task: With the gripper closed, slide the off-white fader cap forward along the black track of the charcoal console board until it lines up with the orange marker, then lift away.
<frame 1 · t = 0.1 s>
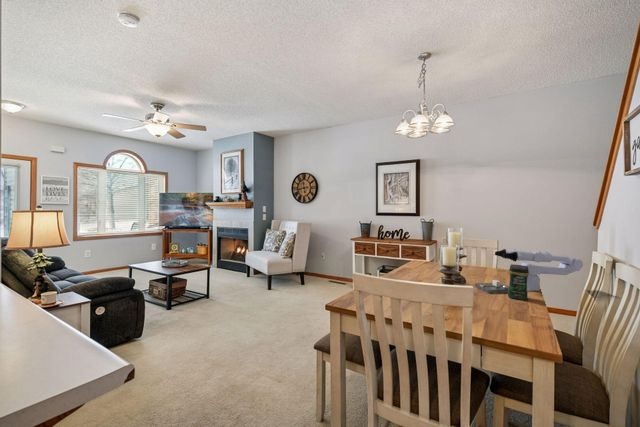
hand: (499, 254, 201), 22 cm above the table, tool horizontal, fingers open, 7 cm apart
coffee jar: (517, 298, 188), on the table
fader cap: (496, 283, 203), point 4 cm above the table, slide at 2.0 cm
console: (493, 289, 203), on the table
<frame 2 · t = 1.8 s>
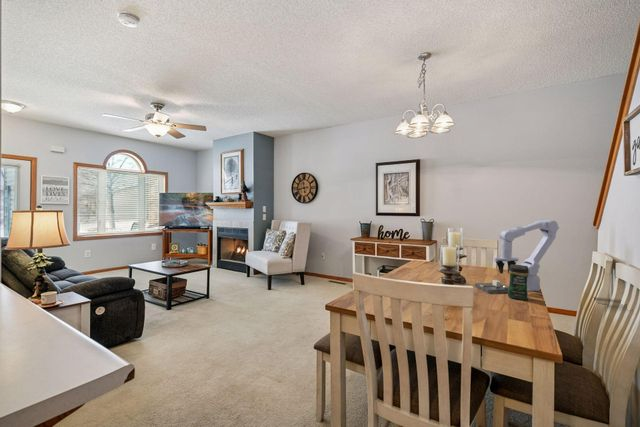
hand: (505, 273, 203), 10 cm above the table, tool pointing down, fingers open, 5 cm apart
nothing on the table moved.
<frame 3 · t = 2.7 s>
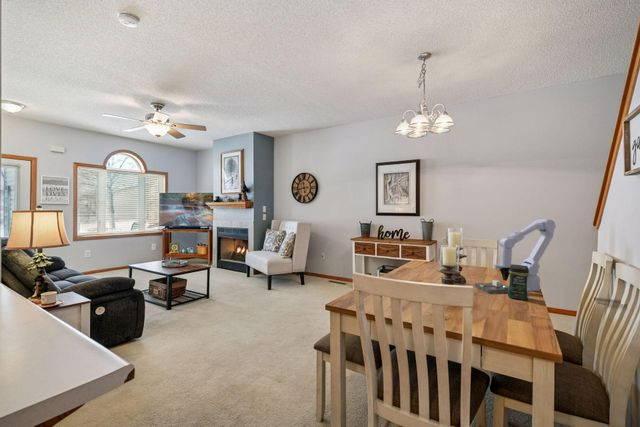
hand: (504, 280, 204), 6 cm above the table, tool pointing down, fingers closed
nothing on the table moved.
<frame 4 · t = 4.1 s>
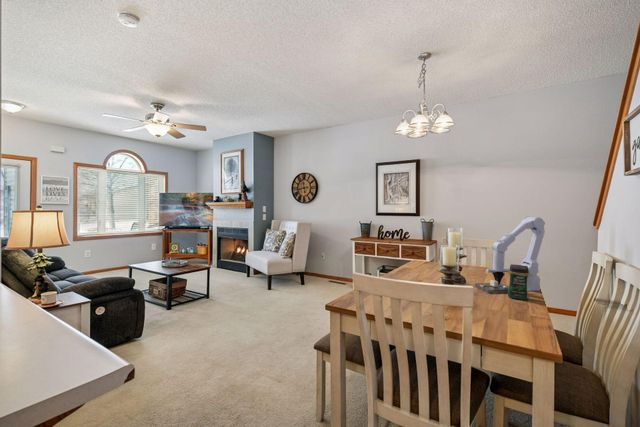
hand: (497, 284, 203), 3 cm above the table, tool pointing down, fingers closed
fader cap: (494, 283, 203), point 4 cm above the table, slide at 3.5 cm, touching gripper
everything else where it was.
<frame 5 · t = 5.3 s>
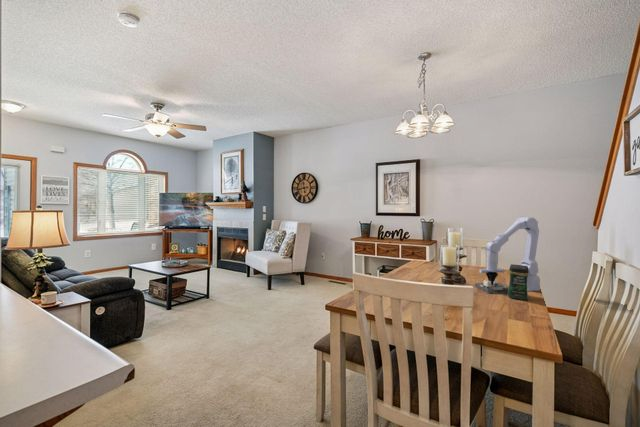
hand: (491, 284, 203), 3 cm above the table, tool pointing down, fingers closed
fader cap: (487, 283, 203), point 4 cm above the table, slide at 7.7 cm, touching gripper
everything else where it was.
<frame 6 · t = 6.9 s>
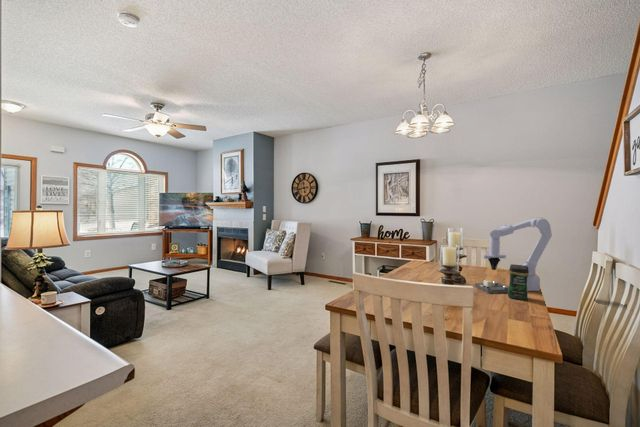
hand: (493, 269, 212), 10 cm above the table, tool pointing down, fingers closed
fader cap: (487, 283, 203), point 4 cm above the table, slide at 7.7 cm
everything else where it was.
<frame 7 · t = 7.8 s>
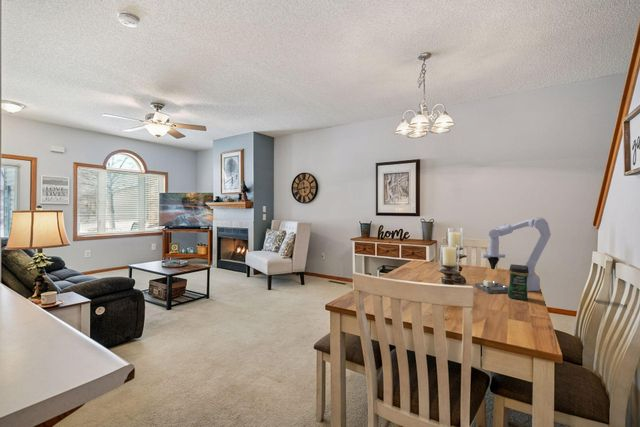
hand: (492, 268, 214), 10 cm above the table, tool pointing down, fingers closed
nothing on the table moved.
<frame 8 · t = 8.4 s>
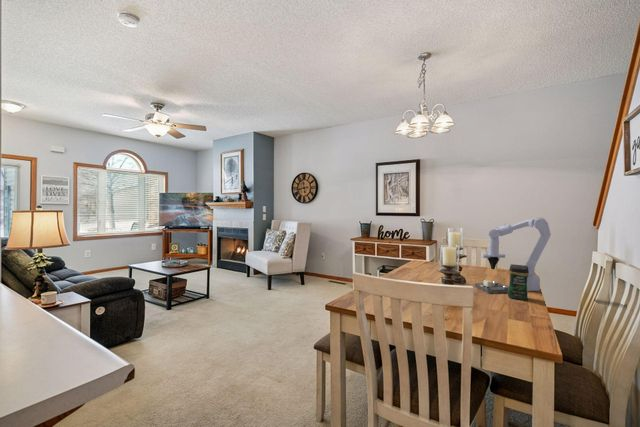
hand: (492, 268, 214), 10 cm above the table, tool pointing down, fingers closed
nothing on the table moved.
at the end: fader cap slide at 7.7 cm; fader cap touching nothing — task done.
